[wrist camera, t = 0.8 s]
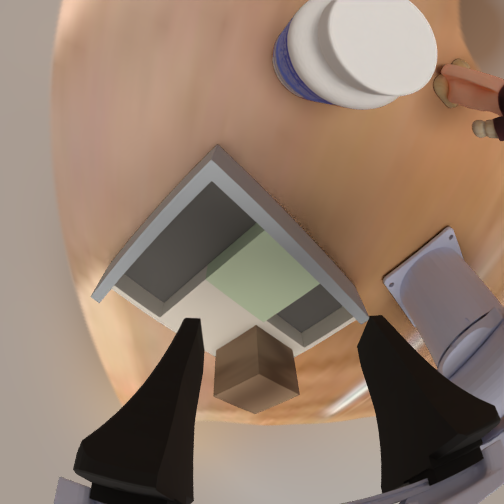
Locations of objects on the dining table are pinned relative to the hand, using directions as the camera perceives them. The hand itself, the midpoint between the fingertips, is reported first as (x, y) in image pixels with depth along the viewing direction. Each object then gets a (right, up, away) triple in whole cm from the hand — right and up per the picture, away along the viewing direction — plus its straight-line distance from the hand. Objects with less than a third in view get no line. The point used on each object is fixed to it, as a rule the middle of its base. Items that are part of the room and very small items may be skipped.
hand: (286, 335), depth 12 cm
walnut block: (-1, -5, +13) cm, 14 cm away
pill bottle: (+2, +15, +3) cm, 16 cm away
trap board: (-2, +1, +11) cm, 12 cm away
